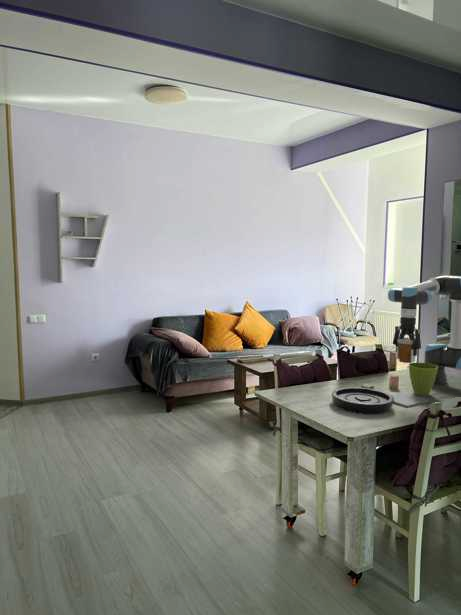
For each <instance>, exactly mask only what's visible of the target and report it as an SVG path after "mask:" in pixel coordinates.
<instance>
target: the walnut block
mask: <svg viewBox="0 0 461 615" xmlns="http://www.w3.org/2000/svg"><path fill="white" fill-rule="evenodd" d="M360 388H371V389H375V385H373V384H368V383H364V384H361V385H360Z"/></svg>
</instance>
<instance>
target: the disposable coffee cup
mask: <svg viewBox="0 0 461 615" xmlns="http://www.w3.org/2000/svg"><path fill="white" fill-rule="evenodd" d="M413 341H415V340H413ZM397 342H398V351H399V359H398V361H399V362H400V363H404V364H410V363H413V362H411V349H413V347H412V344H413V342H412V340H410V337H404V338H403V339H399V338H398V340H397Z"/></svg>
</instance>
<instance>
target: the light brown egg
mask: <svg viewBox="0 0 461 615" xmlns="http://www.w3.org/2000/svg"><path fill="white" fill-rule="evenodd" d="M399 380H400V375H396V374H390V375H389V382H388V387H389V389H392V390H399V385H400V383H399Z"/></svg>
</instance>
